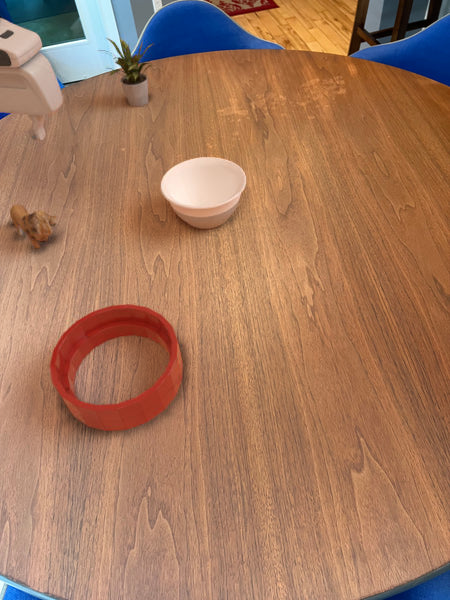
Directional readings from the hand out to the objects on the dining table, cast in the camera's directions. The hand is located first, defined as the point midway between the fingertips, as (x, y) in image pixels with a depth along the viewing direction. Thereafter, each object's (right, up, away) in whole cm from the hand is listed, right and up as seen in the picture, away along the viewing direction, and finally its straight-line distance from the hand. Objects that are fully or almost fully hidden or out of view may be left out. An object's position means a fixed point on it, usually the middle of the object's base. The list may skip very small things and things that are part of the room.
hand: (13, 135), depth 75 cm
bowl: (+30, -10, +20) cm, 37 cm away
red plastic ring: (+18, -37, -4) cm, 42 cm away
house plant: (+9, +27, +54) cm, 61 cm away
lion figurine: (-3, -14, +19) cm, 24 cm away
